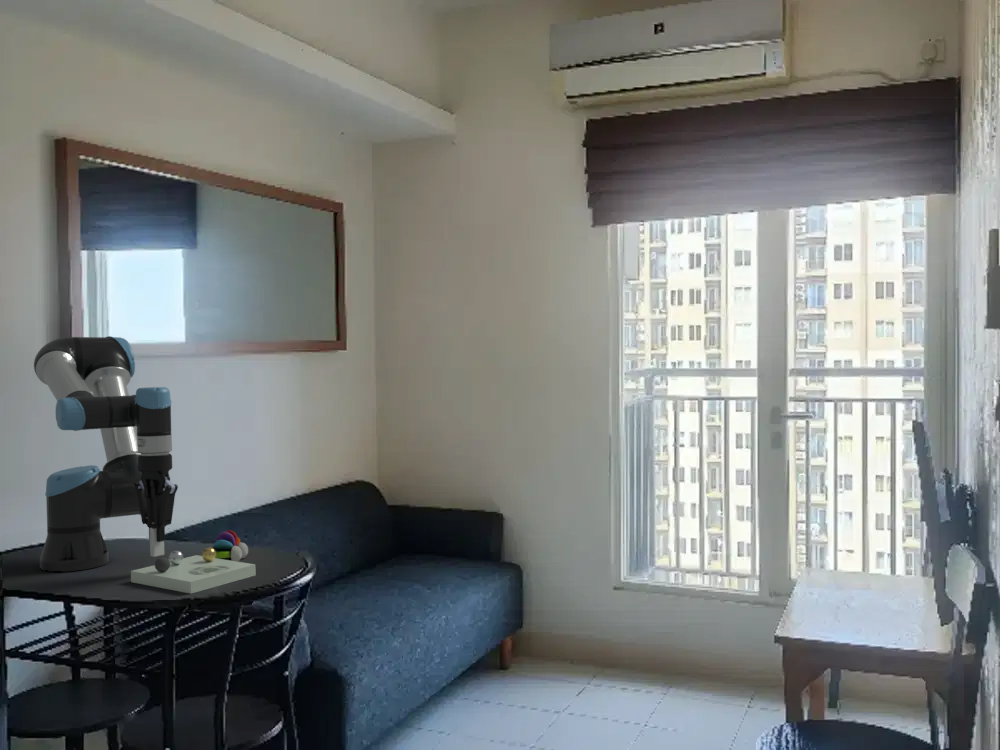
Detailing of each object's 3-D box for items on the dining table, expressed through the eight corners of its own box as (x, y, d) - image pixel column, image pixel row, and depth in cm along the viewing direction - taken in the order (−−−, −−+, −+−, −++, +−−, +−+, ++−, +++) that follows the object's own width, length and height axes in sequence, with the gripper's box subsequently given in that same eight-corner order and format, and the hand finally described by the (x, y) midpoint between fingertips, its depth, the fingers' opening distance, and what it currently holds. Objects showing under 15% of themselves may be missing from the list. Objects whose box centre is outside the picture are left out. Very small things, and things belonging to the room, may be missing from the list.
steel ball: (165, 565, 208) (165, 551, 208) (177, 562, 211) (177, 548, 211) (175, 566, 207) (174, 552, 206) (186, 564, 209) (186, 550, 209)
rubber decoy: (151, 572, 202) (151, 558, 201) (164, 569, 204) (163, 555, 204) (161, 574, 200) (160, 559, 200) (173, 571, 203) (173, 556, 202)
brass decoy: (198, 561, 211) (198, 548, 211) (209, 559, 214) (209, 545, 214) (208, 563, 210) (207, 549, 209) (219, 560, 212) (219, 547, 212)
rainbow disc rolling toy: (251, 556, 229) (250, 527, 228) (236, 565, 219) (235, 535, 219) (218, 556, 229) (218, 527, 229) (202, 565, 220) (201, 535, 220)
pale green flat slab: (131, 582, 203) (130, 570, 203) (196, 565, 219) (196, 555, 218) (191, 593, 193) (190, 581, 193) (255, 575, 208) (255, 564, 208)
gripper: (122, 454, 212) (125, 555, 212) (159, 456, 205) (161, 561, 205) (150, 451, 218) (153, 549, 219) (186, 453, 211) (189, 554, 212)
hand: (157, 555), depth 212 cm, fingers closed
